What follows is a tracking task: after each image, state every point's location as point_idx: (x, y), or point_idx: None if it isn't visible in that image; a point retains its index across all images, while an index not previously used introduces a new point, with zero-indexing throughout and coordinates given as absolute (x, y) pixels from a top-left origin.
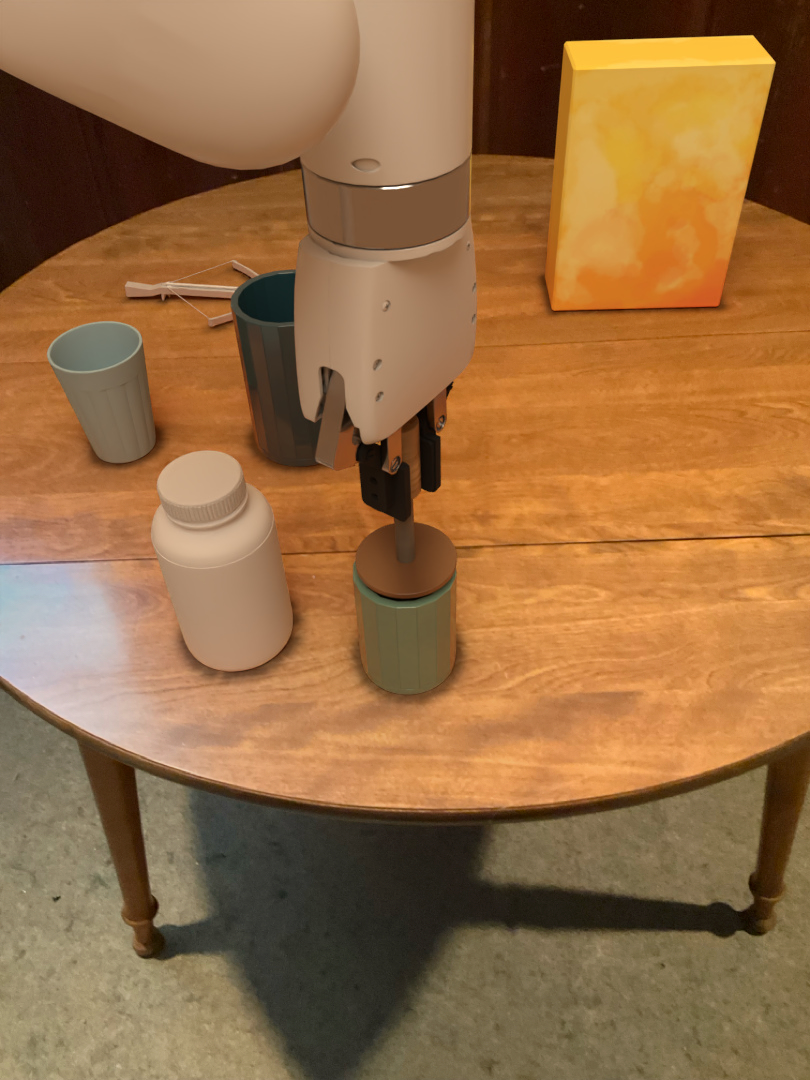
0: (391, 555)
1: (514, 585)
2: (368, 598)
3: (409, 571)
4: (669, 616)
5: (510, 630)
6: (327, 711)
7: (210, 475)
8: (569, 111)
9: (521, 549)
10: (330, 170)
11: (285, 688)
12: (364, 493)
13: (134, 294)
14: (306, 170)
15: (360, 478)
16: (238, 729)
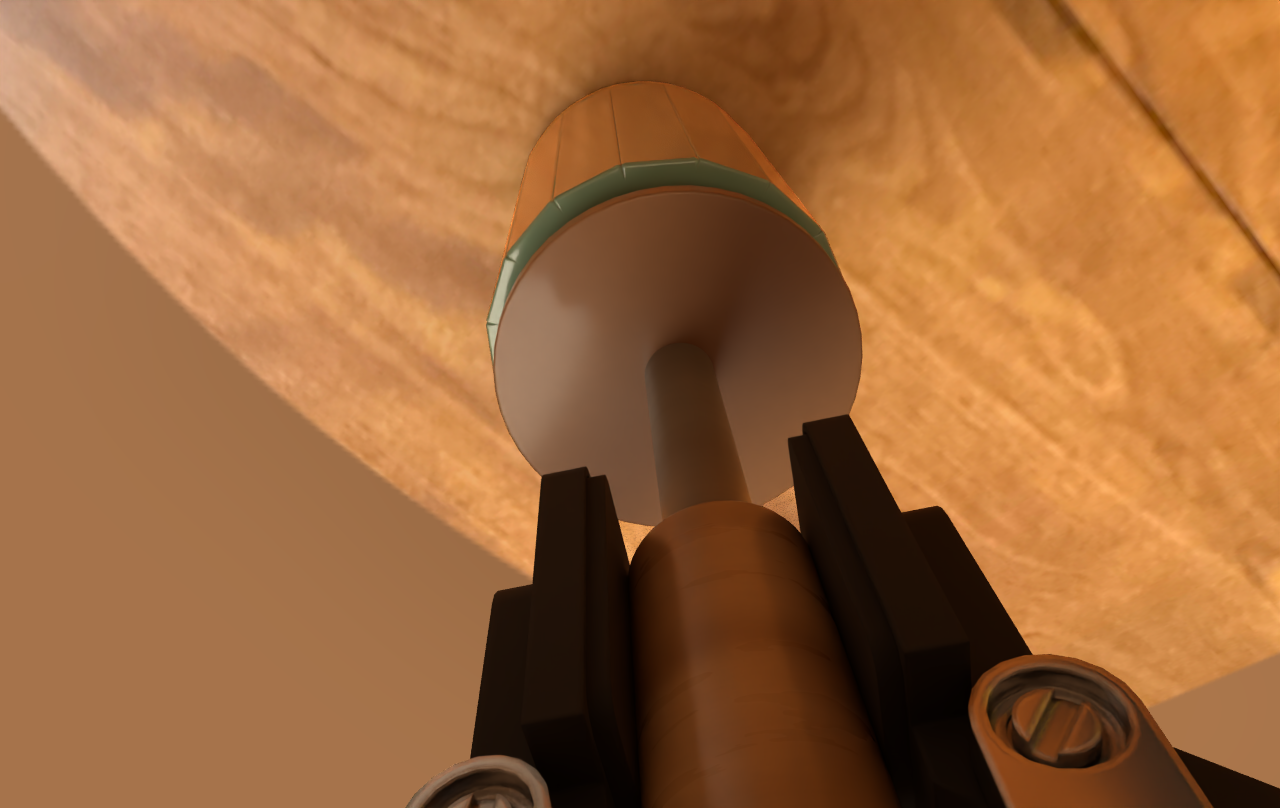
0: (645, 337)
1: (1015, 225)
2: (491, 356)
3: (638, 429)
4: (1128, 515)
5: (880, 319)
6: (377, 195)
7: None
8: None
9: (1147, 143)
10: None
11: (323, 56)
12: (489, 627)
13: None
14: None
15: (534, 566)
16: (149, 77)
